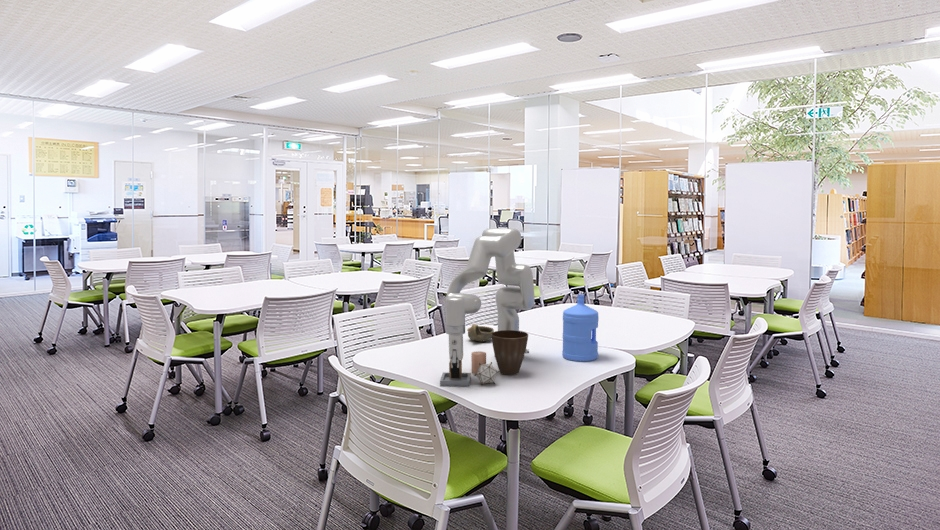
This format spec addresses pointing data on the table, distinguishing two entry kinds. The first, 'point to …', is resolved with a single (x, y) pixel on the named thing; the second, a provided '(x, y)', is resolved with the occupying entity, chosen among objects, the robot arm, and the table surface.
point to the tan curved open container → (480, 333)
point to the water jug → (580, 332)
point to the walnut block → (459, 368)
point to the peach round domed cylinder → (477, 360)
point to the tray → (455, 380)
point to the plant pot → (509, 350)
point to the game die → (486, 373)
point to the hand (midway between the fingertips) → (455, 375)
